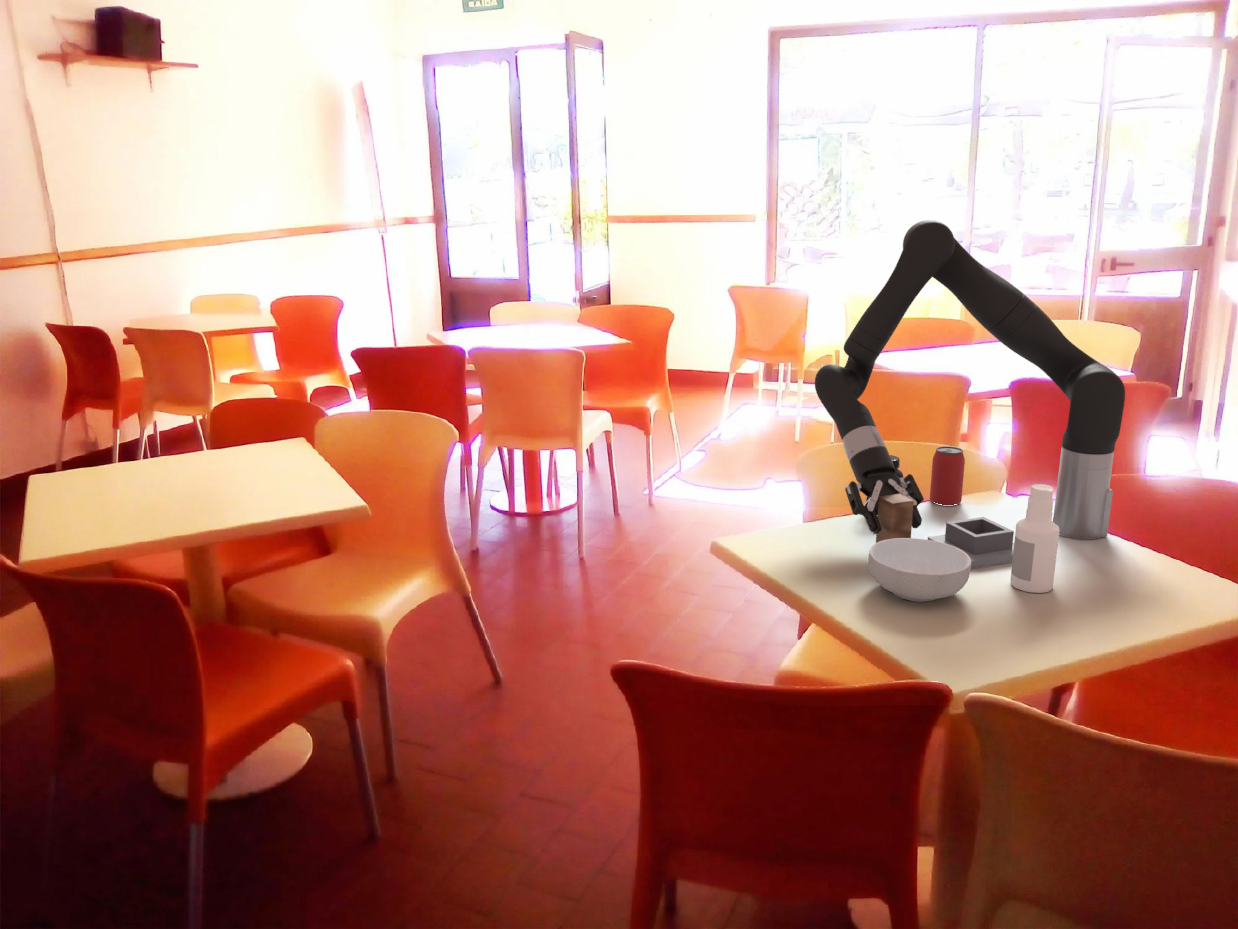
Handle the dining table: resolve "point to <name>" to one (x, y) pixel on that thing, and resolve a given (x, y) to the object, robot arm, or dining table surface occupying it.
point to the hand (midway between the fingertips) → (898, 529)
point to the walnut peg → (894, 517)
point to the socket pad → (979, 540)
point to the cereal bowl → (919, 568)
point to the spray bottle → (1036, 544)
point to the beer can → (947, 475)
